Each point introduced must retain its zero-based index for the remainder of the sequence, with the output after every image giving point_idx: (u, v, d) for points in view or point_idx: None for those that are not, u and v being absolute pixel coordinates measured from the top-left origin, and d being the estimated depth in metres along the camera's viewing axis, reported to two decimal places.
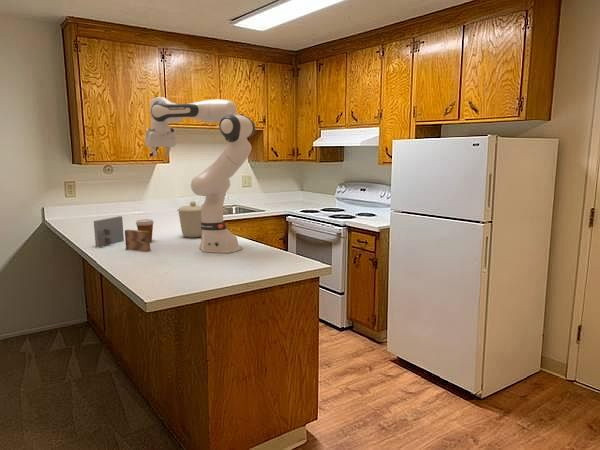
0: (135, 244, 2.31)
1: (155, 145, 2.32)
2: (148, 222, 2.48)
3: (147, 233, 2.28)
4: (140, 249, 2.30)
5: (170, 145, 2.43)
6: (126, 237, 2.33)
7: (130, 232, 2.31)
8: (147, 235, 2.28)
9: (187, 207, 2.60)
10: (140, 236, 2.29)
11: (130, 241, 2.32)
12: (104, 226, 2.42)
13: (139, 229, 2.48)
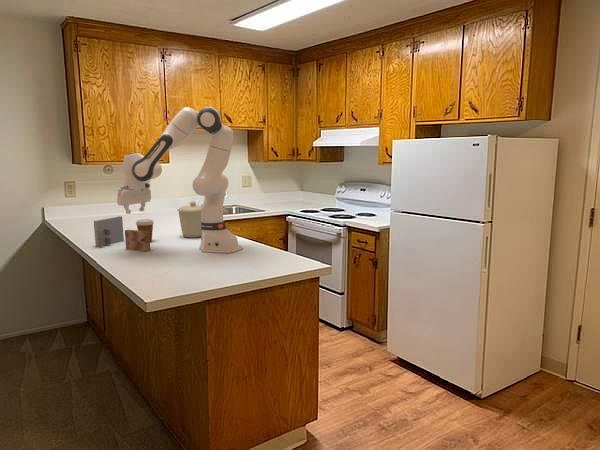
0: (135, 244, 2.31)
1: (128, 203, 2.22)
2: (148, 222, 2.48)
3: (147, 233, 2.28)
4: (140, 249, 2.30)
5: (145, 201, 2.32)
6: (126, 237, 2.33)
7: (130, 232, 2.31)
8: (147, 235, 2.28)
9: (187, 207, 2.60)
10: (140, 236, 2.29)
11: (130, 241, 2.32)
12: (104, 226, 2.42)
13: (139, 229, 2.48)
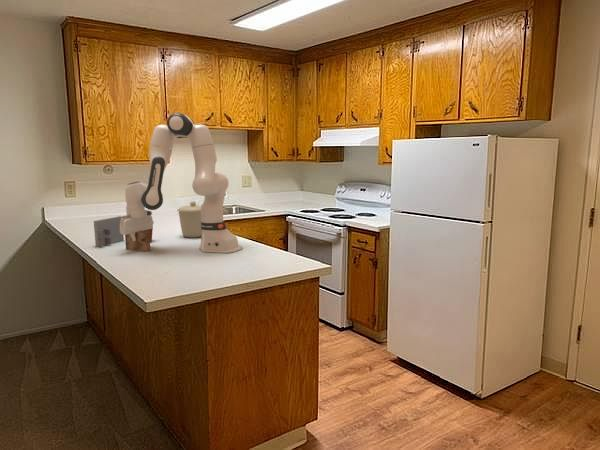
0: (135, 244, 2.31)
1: (130, 232, 2.24)
2: None
3: (147, 233, 2.28)
4: (140, 249, 2.30)
5: (147, 228, 2.35)
6: (126, 237, 2.33)
7: None
8: (147, 235, 2.28)
9: (187, 207, 2.60)
10: (140, 236, 2.29)
11: (130, 241, 2.32)
12: (104, 226, 2.42)
13: None
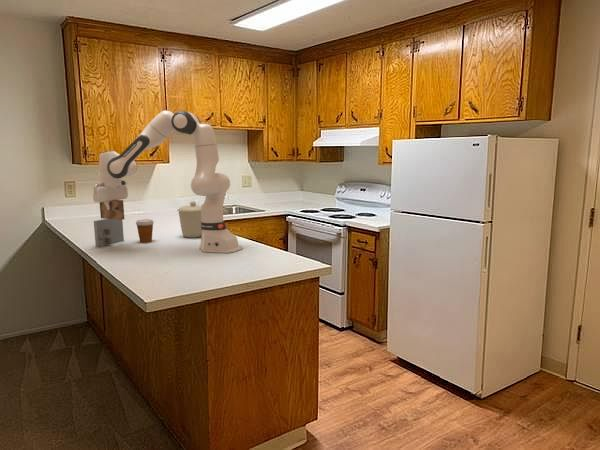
0: (109, 213, 2.35)
1: (104, 200, 2.28)
2: (148, 222, 2.48)
3: (121, 202, 2.31)
4: (114, 218, 2.34)
5: (121, 198, 2.38)
6: (100, 207, 2.36)
7: None
8: (121, 204, 2.32)
9: (187, 207, 2.60)
10: (114, 204, 2.32)
11: (104, 210, 2.36)
12: (104, 226, 2.42)
13: (139, 229, 2.48)
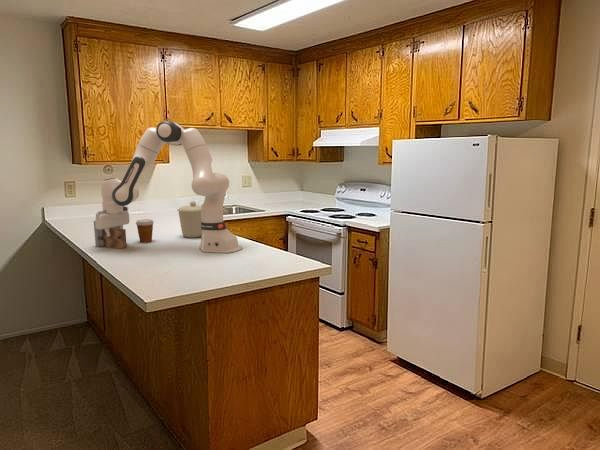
0: (111, 241, 2.37)
1: (106, 227, 2.30)
2: (148, 222, 2.48)
3: (123, 231, 2.34)
4: (116, 246, 2.36)
5: (123, 223, 2.41)
6: None
7: None
8: (123, 233, 2.34)
9: (187, 207, 2.60)
10: (116, 233, 2.35)
11: (107, 239, 2.38)
12: None
13: (139, 229, 2.48)
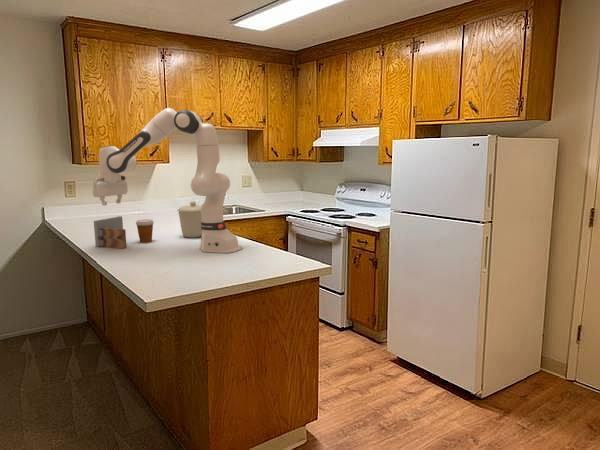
0: (111, 242, 2.37)
1: (103, 195, 2.27)
2: (148, 222, 2.48)
3: (123, 231, 2.34)
4: (116, 246, 2.36)
5: (121, 193, 2.38)
6: None
7: (107, 230, 2.37)
8: (123, 233, 2.34)
9: (187, 207, 2.60)
10: (116, 233, 2.35)
11: (107, 239, 2.38)
12: (104, 226, 2.42)
13: (139, 229, 2.48)
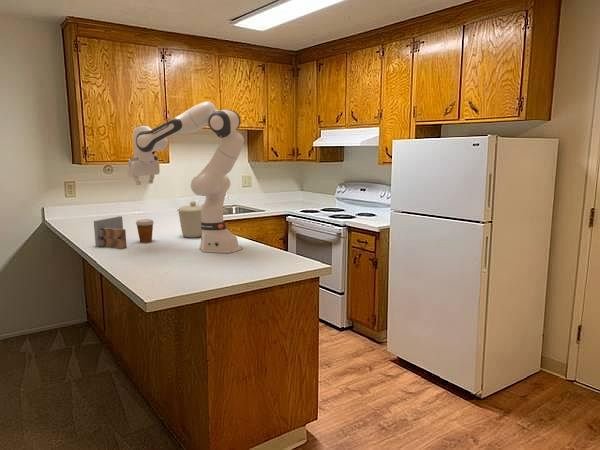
0: (111, 242, 2.37)
1: (138, 174, 2.29)
2: (148, 222, 2.48)
3: (123, 231, 2.34)
4: (116, 246, 2.36)
5: (154, 173, 2.40)
6: None
7: (107, 230, 2.37)
8: (123, 233, 2.34)
9: (187, 207, 2.60)
10: (116, 233, 2.35)
11: (107, 239, 2.38)
12: (104, 226, 2.42)
13: (139, 229, 2.48)
